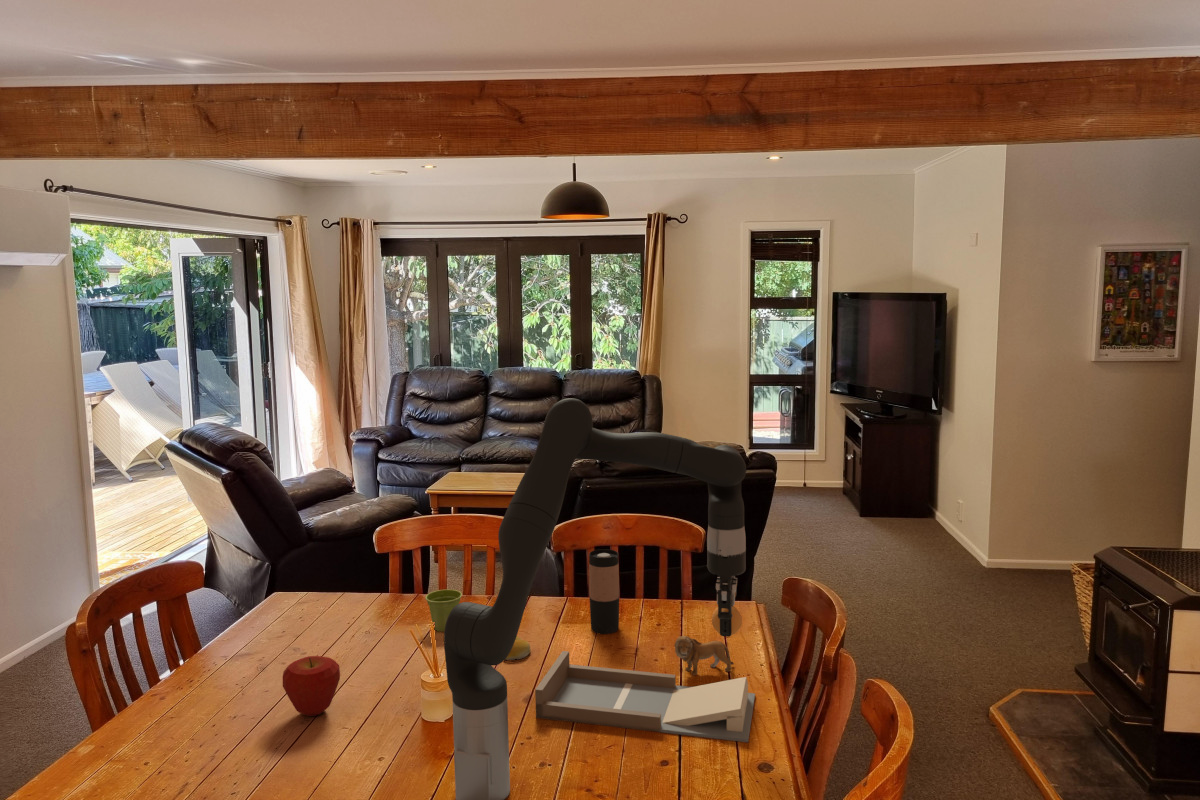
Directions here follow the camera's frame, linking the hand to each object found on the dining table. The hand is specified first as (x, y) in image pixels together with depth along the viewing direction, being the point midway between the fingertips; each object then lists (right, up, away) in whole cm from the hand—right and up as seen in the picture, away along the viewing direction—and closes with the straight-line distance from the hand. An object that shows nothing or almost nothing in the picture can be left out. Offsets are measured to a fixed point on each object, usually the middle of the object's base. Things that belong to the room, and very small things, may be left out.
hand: (726, 628), depth 164 cm
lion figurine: (-2, -16, +22) cm, 28 cm away
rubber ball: (0, +2, 0) cm, 2 cm away
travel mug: (-24, -13, +48) cm, 55 cm away
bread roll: (-47, -16, +34) cm, 60 cm away
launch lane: (-15, -19, +7) cm, 25 cm away
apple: (-84, -19, +6) cm, 87 cm away
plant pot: (-66, -14, +50) cm, 84 cm away
